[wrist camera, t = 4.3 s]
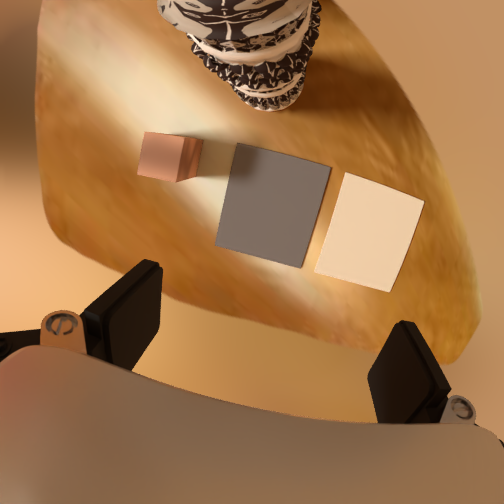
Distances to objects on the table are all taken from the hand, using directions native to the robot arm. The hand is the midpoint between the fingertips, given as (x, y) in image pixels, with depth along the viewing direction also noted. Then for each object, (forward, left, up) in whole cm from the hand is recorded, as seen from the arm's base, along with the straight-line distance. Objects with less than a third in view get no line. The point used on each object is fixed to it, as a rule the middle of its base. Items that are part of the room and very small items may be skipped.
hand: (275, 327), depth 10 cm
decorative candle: (-15, -6, -27) cm, 32 cm away
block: (-3, -15, -27) cm, 31 cm away
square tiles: (+1, +5, -27) cm, 28 cm away
